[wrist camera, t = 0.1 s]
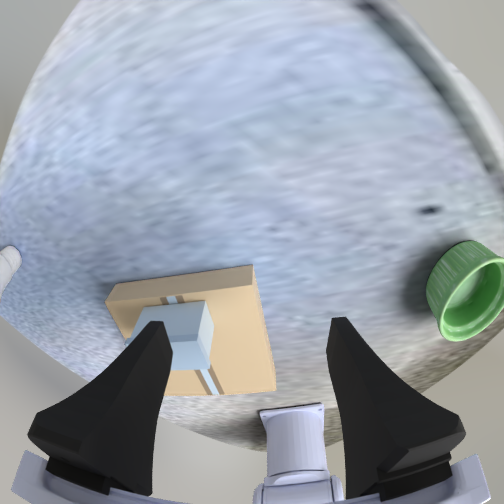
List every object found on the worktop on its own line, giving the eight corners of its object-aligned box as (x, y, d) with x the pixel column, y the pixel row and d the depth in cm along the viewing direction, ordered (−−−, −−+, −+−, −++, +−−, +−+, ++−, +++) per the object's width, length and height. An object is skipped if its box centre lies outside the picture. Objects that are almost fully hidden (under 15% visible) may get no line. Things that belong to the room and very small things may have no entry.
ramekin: (452, 220, 20) (481, 245, 16) (501, 250, 21) (525, 273, 17) (403, 304, 24) (421, 336, 20) (457, 318, 25) (475, 345, 21)
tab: (216, 327, 22) (209, 368, 18) (155, 332, 22) (141, 370, 19) (206, 298, 20) (196, 340, 17) (141, 305, 21) (124, 344, 17)
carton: (275, 370, 28) (276, 390, 26) (167, 377, 29) (162, 395, 27) (252, 264, 22) (252, 284, 20) (116, 283, 23) (104, 302, 21)
